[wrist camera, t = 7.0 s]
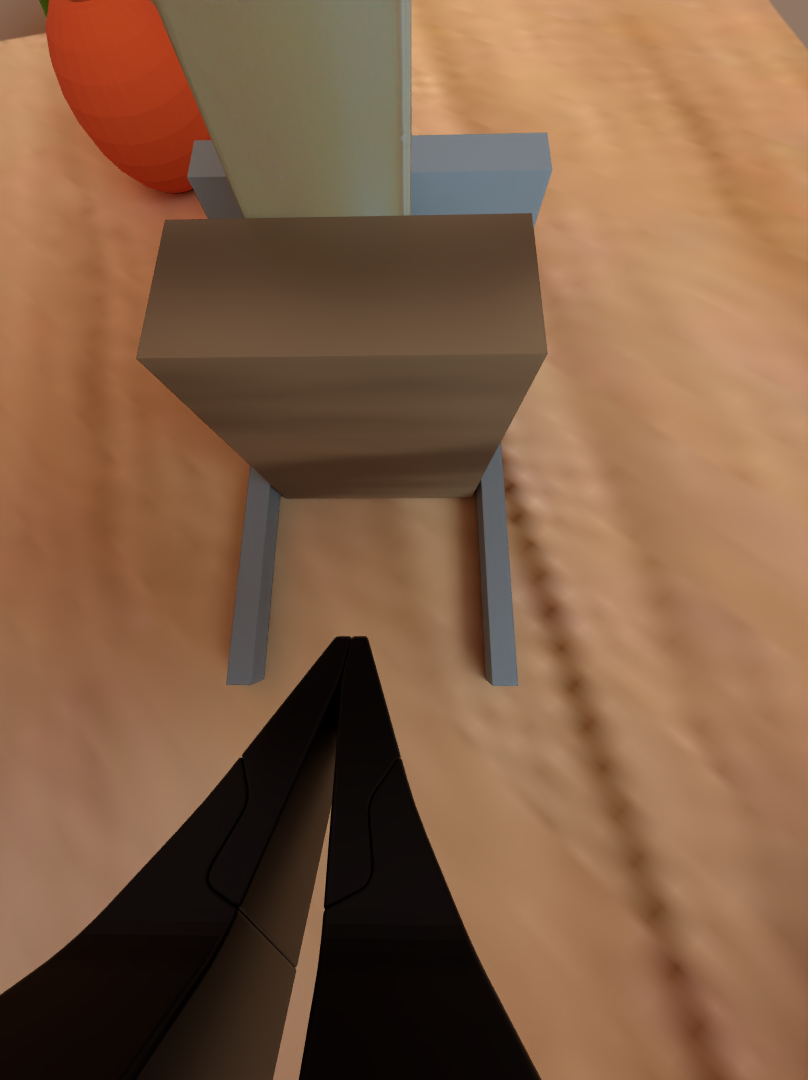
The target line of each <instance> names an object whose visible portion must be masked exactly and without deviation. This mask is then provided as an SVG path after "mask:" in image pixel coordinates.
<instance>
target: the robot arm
mask: <svg viewBox="0 0 808 1080" xmlns="http://www.w3.org/2000/svg"><path fill="white" fill-rule="evenodd" d="M331 805H332V808H331ZM330 809H331V821H330V834H329V847H328V860H327V873H326V886H325V899H324V908H325V911H324V914H323V925H322V936H321V945H320V953H319V962H318V969H317V976H316V982H315V988H314V994H313V999H312V1005H311V1011H310V1017H309V1023H308V1029H307V1035H306V1041H305V1046H304V1052H303V1058H302V1064H301V1070H300V1076H299V1080H541V1078H540V1076H539V1074H538V1072H537V1070H536V1068H535V1066H534V1065H533V1063H532V1061H531V1059H530V1057H529V1055H528V1053H527V1051H526V1049H525V1047H524V1045H523V1043H522V1042H521V1040H520V1038H519V1036H518V1034H517V1032H516V1030H515V1028H514V1026H513V1024H512V1022H511V1020H510V1019H509V1017H508V1015H507V1013H506V1011H505V1009H504V1007H503V1005H502V1003H501V1001H500V999H499V997H498V995H497V994H496V992H495V990H494V988H493V986H492V984H491V982H490V980H489V978H488V976H487V974H486V972H485V970H484V968H483V966H482V964H481V962H480V960H479V958H478V956H477V954H476V951H475V949H474V947H473V945H472V943H471V940H470V938H469V936H468V934H467V931H466V929H465V927H464V924H463V922H462V920H461V917H460V915H459V913H458V910H457V908H456V905H455V903H454V900H453V898H452V895H451V893H450V891H449V888H448V886H447V883H446V881H445V878H444V876H443V874H442V871H441V869H440V866H439V864H438V861H437V859H436V856H435V854H434V852H433V849H432V847H431V844H430V842H429V839H428V837H427V834H426V832H425V829H424V827H423V824H422V821H421V819H420V816H419V813H418V811H417V808H416V805H415V802H414V799H413V796H412V793H411V790H410V786H409V783H408V780H407V777H406V773H405V769H404V766H403V762H402V760H401V756H400V752H399V748H398V745H397V741H396V738H395V734H394V730H393V727H392V723H391V720H390V716H389V712H388V709H387V705H386V701H385V698H384V694H383V691H382V687H381V683H380V680H379V676H378V673H377V669H376V665H375V662H374V658H373V655H372V651H371V647H370V644H369V640H368V638H367V637H366V636H354V637H353V638H351V637H350V636H338V637H336V638H335V639H334V640H333V641H332V642H331V644H330V645H329V646H328V647H327V649H326V650H325V651H324V652H323V654H322V655H321V656H320V657H319V659H318V660H317V661H316V662H315V664H314V665H313V666H312V667H311V669H310V670H309V671H308V672H307V674H306V675H305V676H304V678H303V679H302V680H301V681H300V683H299V684H298V685H297V686H296V688H295V689H294V690H293V691H292V693H291V694H290V695H289V696H288V698H287V699H286V700H285V701H284V703H283V704H282V705H281V706H280V708H279V709H278V710H277V711H276V713H275V714H274V715H273V716H272V718H271V719H270V720H269V722H268V723H267V724H266V725H265V727H264V728H263V729H262V730H261V732H260V733H259V734H258V735H257V737H256V738H255V739H254V740H253V742H252V743H251V744H250V745H249V747H248V748H247V749H246V750H245V752H244V753H243V754H242V758H239V759H238V760H237V761H236V763H235V764H234V765H233V767H232V768H231V769H230V770H229V772H228V773H227V774H226V775H225V777H224V778H223V779H222V780H221V781H220V783H219V784H218V785H217V786H216V787H215V789H214V790H213V791H212V792H211V793H210V795H209V796H208V797H207V798H206V799H205V801H204V802H203V803H202V804H201V805H200V806H199V807H198V808H197V809H196V811H195V812H194V813H193V814H192V815H191V816H190V817H189V818H188V819H187V821H186V822H185V823H184V824H183V825H182V826H181V827H180V828H179V829H178V831H177V832H176V833H175V834H174V835H173V836H172V837H171V838H170V839H169V840H168V841H167V842H166V843H165V845H164V846H163V847H162V848H161V849H160V850H159V851H158V852H157V853H156V854H155V855H154V856H153V857H152V859H151V860H150V861H149V862H148V863H147V864H146V865H145V866H144V867H143V868H142V869H141V870H140V871H139V872H138V874H137V875H136V876H135V877H134V878H133V879H132V880H131V881H130V882H129V883H128V884H127V885H126V886H125V888H124V889H123V890H122V891H121V892H120V893H119V894H118V895H117V896H116V897H115V898H114V899H113V900H112V901H111V903H110V904H109V905H108V906H107V907H106V908H105V909H104V910H103V911H102V912H101V913H100V914H99V915H98V916H97V917H96V918H95V919H94V920H93V921H92V922H91V923H90V924H89V925H88V926H87V927H86V928H85V929H84V930H83V931H82V932H81V933H80V934H78V935H77V936H76V937H75V938H74V939H73V940H72V941H70V942H69V943H68V944H67V945H66V946H65V947H64V948H62V949H61V950H60V951H59V952H57V953H56V954H55V955H54V956H53V957H51V958H50V959H49V960H48V961H46V962H45V963H44V964H42V965H41V966H40V967H38V968H37V969H36V970H34V971H33V972H31V973H30V974H29V975H27V976H26V977H24V978H23V979H22V980H20V981H19V982H17V983H16V984H15V985H13V986H12V987H11V988H9V989H8V990H6V991H5V992H4V993H2V994H1V995H0V1080H273V1076H274V1071H275V1067H276V1062H277V1057H278V1053H279V1048H280V1043H281V1039H282V1034H283V1029H284V1025H285V1020H286V1015H287V1011H288V1006H289V1001H290V997H291V992H292V987H293V983H294V978H295V973H296V968H295V967H296V966H297V964H298V959H299V954H300V949H301V945H302V940H303V935H304V931H305V926H306V921H307V917H308V912H309V907H310V903H311V898H312V893H313V889H314V884H315V879H316V875H317V870H318V865H319V861H320V856H321V851H322V847H323V842H324V837H325V833H326V828H327V823H328V819H329V814H330Z"/></svg>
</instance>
